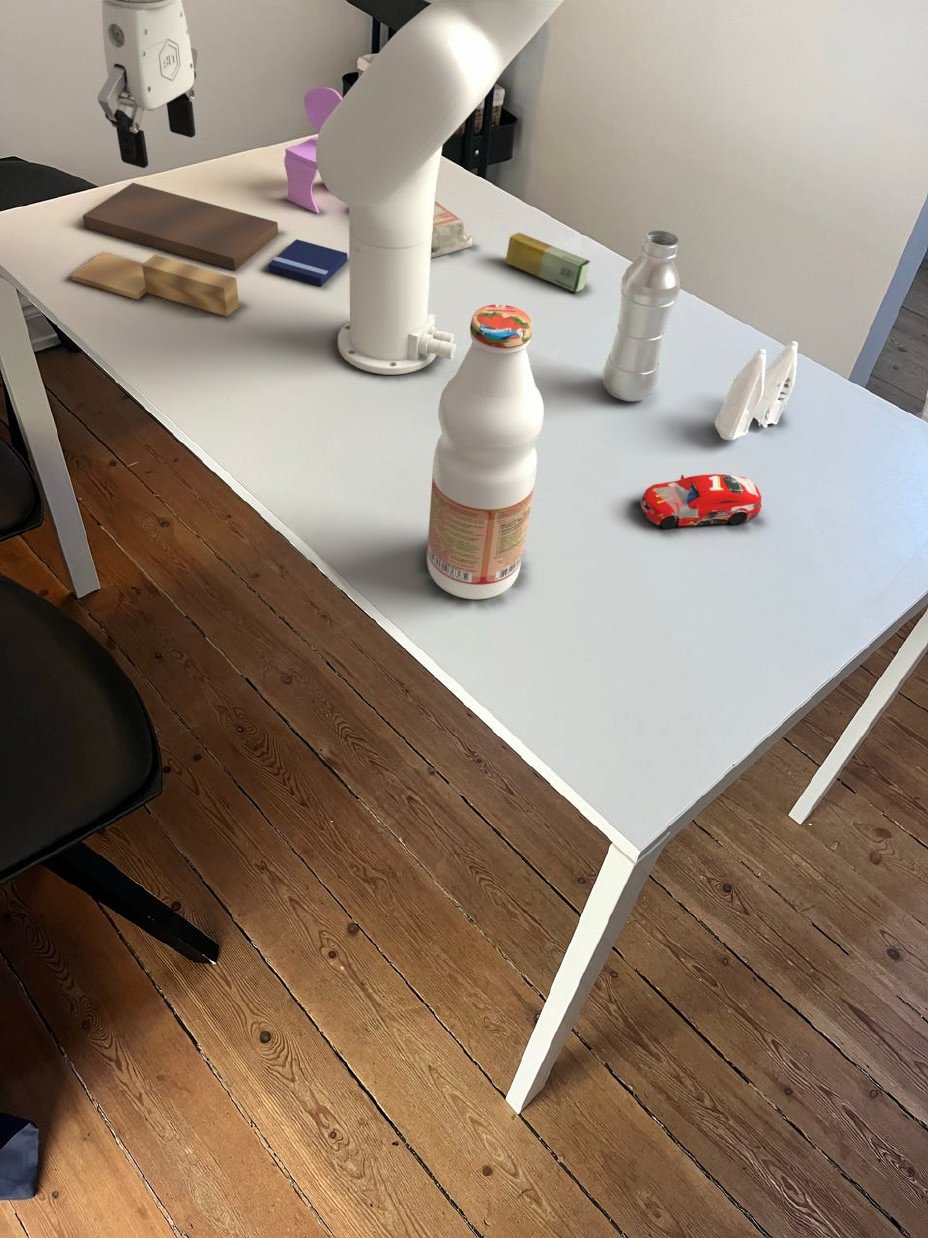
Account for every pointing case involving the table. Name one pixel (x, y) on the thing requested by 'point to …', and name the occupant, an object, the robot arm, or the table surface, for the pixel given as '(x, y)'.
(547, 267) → the medication box
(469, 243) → the packaged product
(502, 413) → the fruit juice
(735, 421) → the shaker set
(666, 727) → the table surface
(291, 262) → the navy tea towel
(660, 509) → the race car
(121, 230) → the walnut board
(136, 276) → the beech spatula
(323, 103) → the toy chair
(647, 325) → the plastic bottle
